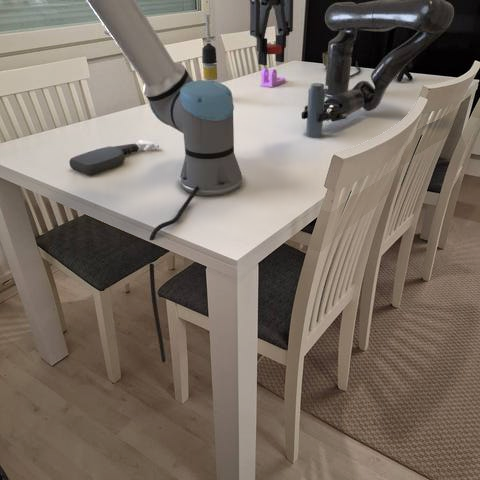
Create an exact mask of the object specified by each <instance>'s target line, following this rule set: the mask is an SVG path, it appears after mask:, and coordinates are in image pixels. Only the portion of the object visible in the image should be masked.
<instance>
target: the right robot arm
mask: <svg viewBox="0 0 480 480" xmlns="http://www.w3.org/2000/svg"><path fill="white" fill-rule="evenodd" d="M454 16H455V8H454V6H453V5H452V3H450V2H449V1H447V0H372V1H366V2H360V3H355V2H353V1H346V2H344V1H343V2H335V3H333V4H331V5H330V6H328V8H327V10H326V12H325V14H324V21H325V24H326V26H327V28H328V29H330V30H331V31H335V32H336V31H339V32H338V34H337V35H336V36H335V37H334V38H333V39H330V41H329V42H328V47H327V52H328V58H327V70H326V69H325V82H324V89H325V97H327V98H326V99H325V102H324V113H322V114H320V115H318V116H317V122H318V123H320V122H323V123H324V122H325V121H326V122H329V121H330V122H337V121H342V120H346V119H347V117H348V116H349V115H351V114H352V113H353V114H354V113H355V112H357V111H359V110H361V109H363V110H364V111H366V112H372V111H374V110H375V109H377V107H378V106H379V105H380V103H381V102H382V100H383V98H384V95H385V93H386V91H387V89H388V87H389V86H390V84H391V83H392V82H393V81H394V80H395V79H396V78H397V77H396V76H398V74H399V73H400V72H401V71H402V69H403V68H404V67H405V68H406V66H408V63H409V62H410V61H411V60H414V59H415V58H416V57H417V56H418V55H419V54H420V53H422V52H423V51H424V49H426V48H427V47H428V46H430V44H432V43H433V42H434V41H435V40H436V39H437V38H439V37H440V36H441V35H442V34H443V33H444V32H445V31H446V30H447V29H448V28H449V27H450V25H451V23H452V21H453V20H454ZM399 27H400V28H408V29H412V30H415V31H417V32H416V33H415V34H414V35H412V37H411V38H409V39H408V40H407V41H405V42H404V43H402V44H401V45H399V46H398V47H396V48H395V49H392V50H391V51H390V52H388V53H387V55H386V56H384V57H383V58H382V59H381V61H380V62H379V63H378V64H377V66H376V67H375V68H374V70H373V71H372V72H371V74H370V80H371V81H372V84H373V85H372V84H371V83H370V82H369V81H367V80H360V81H358V82H357V83H356V84H355V85H354V86H353V87H352V88H351V89H350V90H349V86H350V78H352V77H354V76H357V75H359V74H360V72H361V70H362V69H361V67H360V66H359V65H358V63H359V62H358V61H357V60H356V61H355V67H356V68H357V69H358V70H357V72H354V73H353V74H351V67H352V60H353V59H352V57H353V49H354V44H355V42H356V38H357V34H358V30H359V31H369V32H389V31H391V30H393V29H395V28H399ZM395 77H396V78H395ZM394 78H395V79H394ZM307 109H308V104H307V105H306V106H304V111H302V112H301V120H307Z"/></svg>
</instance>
